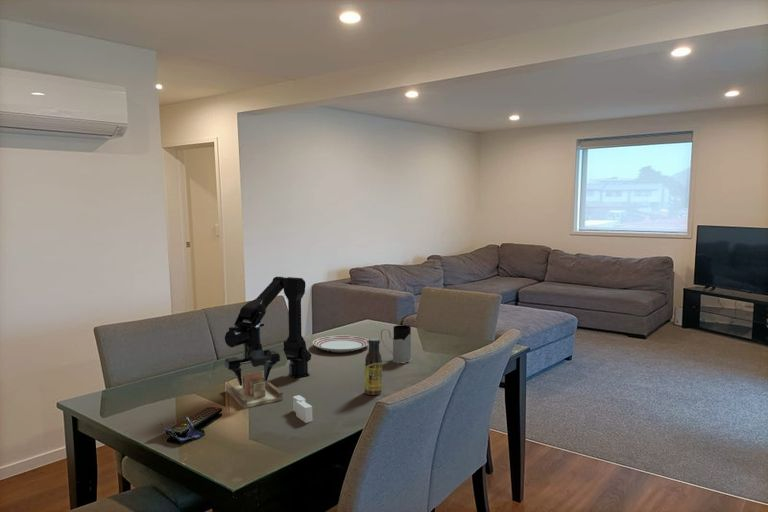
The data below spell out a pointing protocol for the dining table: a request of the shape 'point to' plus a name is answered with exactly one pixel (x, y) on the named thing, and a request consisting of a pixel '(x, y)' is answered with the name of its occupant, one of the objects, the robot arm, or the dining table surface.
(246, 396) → the dish rack
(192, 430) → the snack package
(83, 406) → the dining table surface
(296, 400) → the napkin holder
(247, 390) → the pink clay brick
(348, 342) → the dinner plate
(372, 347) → the sauce bottle
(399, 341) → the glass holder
